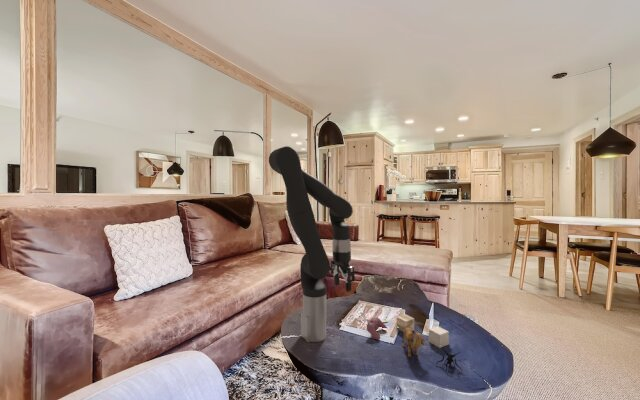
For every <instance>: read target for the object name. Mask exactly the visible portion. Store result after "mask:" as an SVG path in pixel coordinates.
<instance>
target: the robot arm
mask: <svg viewBox="0 0 640 400" xmlns="http://www.w3.org/2000/svg"><path fill="white" fill-rule="evenodd" d="M268 164H269V166H270V168H271V170H273V171H274V172H276V173H277V174H280V175H281V176H282V180H283V182H284V185H285V191H286V197H285V199H286V213H287V214H288V219H289V222H290V225H291V227H292V229H293V231H294V233H295V235H296V237H297V238H298V239H299V241H300V243H301V245H302V246H303V249H304V251H305V253H304V254H303V256H302V258H301V261H300V269H299V270H300V285H301V286H300V287H302V311H301V312H300V336H301V338H302V339H304V341H305V342H307V343H320V342H322V341H324V340H326V338H327V286H326V284H325V283H324V280H323V279H325V278H326V277H327V276H328V275H329V273H330V274H331V275H333V284H334V286H339V285H340V275H341V276H342V278H343V279H344V281H345V292H347V293H348V292H351V291H352V283H354V282H355V280H356V279H355V278H356V277H355V275H356V274H355V267H354V266H351V265H350V264H349V263H350V262H351V260H352V250H351V249H352V247H351V245H352V244H351V237H350V236H351V233H350V232H351V231H350V226H349V225H348V224H347V223H346V222H345V221H346V220H347V219H349V218H350V217H351V216H352V215H353V211H354V210H353V206H352V205H351V203H350V202H349V201H347V200H346V198H343V197H341V196H340V194H339V195H338V194H337V193H335V192H334V190H332V189H331V188H330V187H328V186H327V185H326V184H325V183H324V182H323V181H321V180H319V179H318V178H316V177H315V176H313V175H311V174H309V173H308V172H306V171H304V170H303V168H302V163H301V160H300V156H299V154H298V152H297V150H296V149H295V148H293V147H291V146H288V145H285V146H281V147H280V148H276V149H274V150H273V151H272V152H271V153H270V154H269V157H268ZM309 196H310V197H311V198H312V199H313V200H315V201H316V202H318V204H320V205H322V207H325V208H328V214H329V219H330V223H331V228H332V260H331V261H330V260H329V257H328V255H327V253H326V250H325V248H324V245H323V243H322V242H323V241H322V239H321V236H320V233H319V229H318V226H317V222H316V218H315V214H314V210H313V208H312V204H311V201H310V198H309Z"/></svg>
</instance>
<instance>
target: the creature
mask: <svg viewBox="0 0 640 400" xmlns="http://www.w3.org/2000/svg"><path fill="white" fill-rule="evenodd" d="M440 349H442V351H444V353H445V354H446V356H447V357H446V359H445V355H442V359H441V360H438V361H437V362H436V363H435V366H436V368H438V366H437V364H438V363H440V362H441V363H442V362H443V361H444V364H443V365H445V373H447V371H450V370H451V366H452V363H453V367H454V368H456V367H457V368H459V369H460V370H461V371H463V370H462V368H461V367H460V366H459V365H458V364H457V359H456V358H454V357H456V356H457V355H459V354H460V353H461V351H459V352H457V353H455V354H451V353H448V352H447V350H445V349H444V347H441V348H440ZM453 358H454V359H453ZM448 366H449V367H448ZM439 368H442V366H441V367H439ZM453 371H455V372H456V369H453ZM462 374H463V372H461V373H460V375H462Z"/></svg>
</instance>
